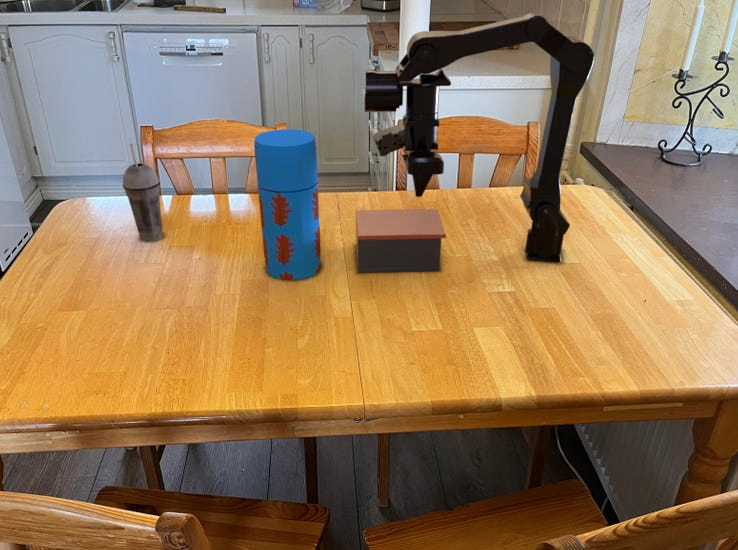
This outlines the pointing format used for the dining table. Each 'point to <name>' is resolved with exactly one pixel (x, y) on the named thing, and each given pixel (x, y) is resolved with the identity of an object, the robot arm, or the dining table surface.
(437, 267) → the box
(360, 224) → the lid
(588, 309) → the dining table surface
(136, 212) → the beverage cup
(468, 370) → the dining table surface
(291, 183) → the thermos
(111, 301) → the dining table surface
